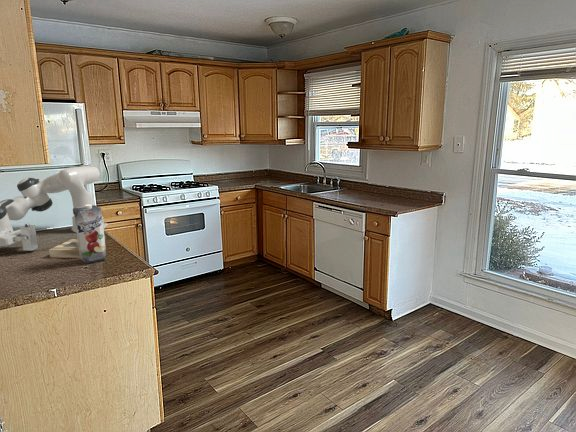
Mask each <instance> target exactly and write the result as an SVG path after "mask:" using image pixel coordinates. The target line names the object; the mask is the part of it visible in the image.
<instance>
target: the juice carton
mask: <svg viewBox="0 0 576 432" xmlns="http://www.w3.org/2000/svg"><path fill="white" fill-rule="evenodd" d="M101 210H102V208H101V207H100V206H98V205H96V204H95V205H94V204H93V205H90V204H88V205H85V207H76V208H74V212H75V224H76V232H75V233H76V237H77V239H76V240H78V247H79V254H80V257H81V258H80V259H81V261H82V262H83V263H84V264H85V265H89V264H95V263H99V262H102V261H103V262H104V261H105V260H106V256H107V255H106V254H107V251H106V250H107V249H106V238H105V239H104V231H105V229H104V230H103V222H104V220H103V221H102V216H103V215H102V211H101Z"/></svg>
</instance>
